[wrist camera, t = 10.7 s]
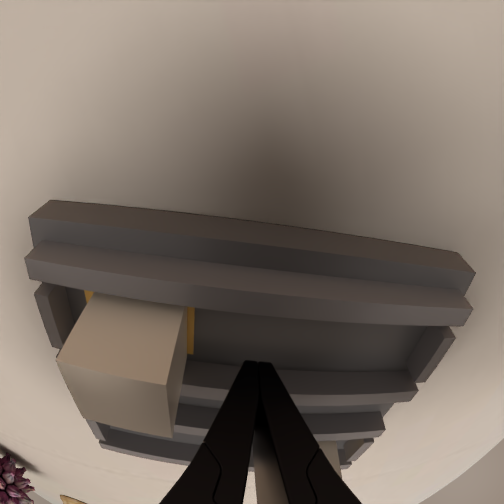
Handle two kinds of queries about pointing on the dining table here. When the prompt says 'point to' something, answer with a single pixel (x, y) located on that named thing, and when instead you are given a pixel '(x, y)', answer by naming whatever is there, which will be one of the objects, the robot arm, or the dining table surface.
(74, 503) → the hand bell
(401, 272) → the switch bank
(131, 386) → the beige rectangular block
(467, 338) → the dining table surface
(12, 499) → the flower
